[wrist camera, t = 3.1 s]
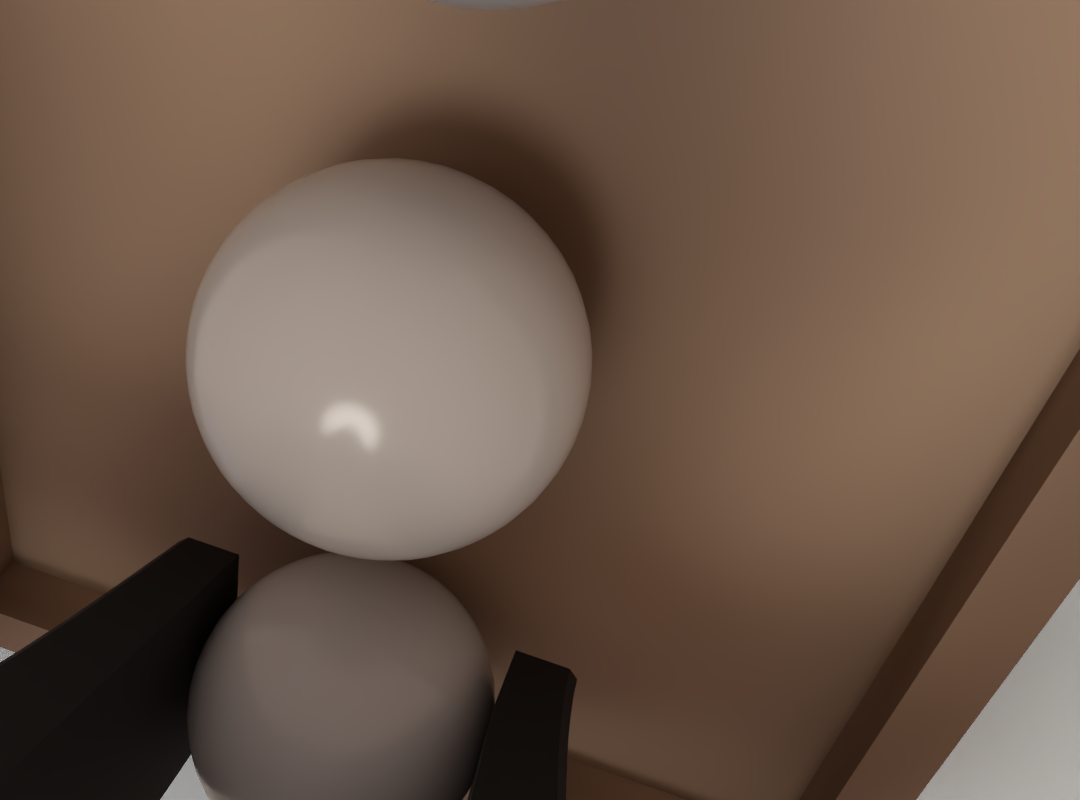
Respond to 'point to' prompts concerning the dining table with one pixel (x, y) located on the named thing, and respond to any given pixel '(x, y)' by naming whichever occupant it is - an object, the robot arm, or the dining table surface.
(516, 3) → the pebble
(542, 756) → the robot arm
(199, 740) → the pebble
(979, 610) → the tray
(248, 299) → the white ball
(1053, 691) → the dining table surface
